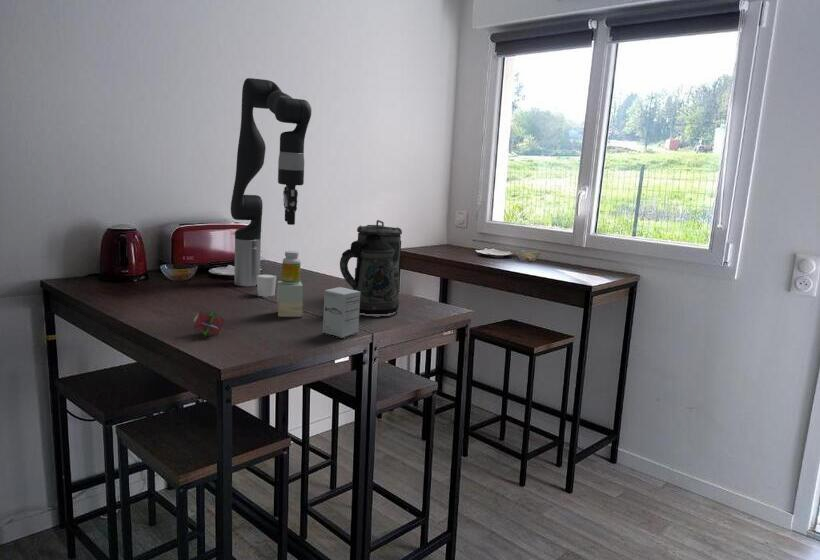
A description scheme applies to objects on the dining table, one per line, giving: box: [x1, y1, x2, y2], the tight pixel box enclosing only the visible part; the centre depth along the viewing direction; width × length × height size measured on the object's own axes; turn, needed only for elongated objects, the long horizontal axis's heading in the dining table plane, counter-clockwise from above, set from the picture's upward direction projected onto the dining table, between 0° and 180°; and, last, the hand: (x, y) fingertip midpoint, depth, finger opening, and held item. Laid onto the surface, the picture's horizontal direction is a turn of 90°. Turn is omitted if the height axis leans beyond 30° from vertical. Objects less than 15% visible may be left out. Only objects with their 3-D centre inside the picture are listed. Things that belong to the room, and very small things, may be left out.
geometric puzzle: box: [193, 309, 225, 338], centre depth 160 cm, size 7×7×8 cm
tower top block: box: [276, 280, 304, 302], centre depth 185 cm, size 7×7×5 cm
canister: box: [354, 219, 403, 298], centre depth 214 cm, size 16×16×28 cm
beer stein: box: [339, 235, 400, 314], centre depth 195 cm, size 16×19×25 cm
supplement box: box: [322, 286, 361, 337], centre depth 168 cm, size 7×7×13 cm
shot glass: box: [256, 273, 277, 298], centre depth 210 cm, size 7×7×7 cm
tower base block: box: [276, 296, 304, 317], centre depth 186 cm, size 7×7×5 cm
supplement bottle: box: [281, 250, 301, 285], centre depth 184 cm, size 5×5×10 cm
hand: (289, 222), depth 182 cm, fingers open, 8 cm apart
